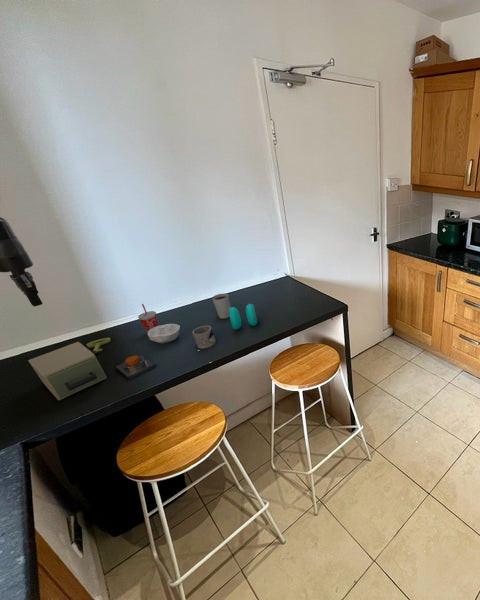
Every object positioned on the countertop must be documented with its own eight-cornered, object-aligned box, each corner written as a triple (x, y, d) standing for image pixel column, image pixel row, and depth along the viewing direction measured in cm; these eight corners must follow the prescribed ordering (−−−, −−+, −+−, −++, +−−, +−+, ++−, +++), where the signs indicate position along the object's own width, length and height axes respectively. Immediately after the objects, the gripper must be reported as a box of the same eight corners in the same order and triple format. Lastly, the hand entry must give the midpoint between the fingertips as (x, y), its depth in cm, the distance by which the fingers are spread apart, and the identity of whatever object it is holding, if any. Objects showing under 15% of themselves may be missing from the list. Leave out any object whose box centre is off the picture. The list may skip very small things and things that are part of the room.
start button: (141, 361, 113) (139, 357, 112) (129, 366, 110) (128, 362, 109) (137, 358, 115) (135, 354, 114) (125, 363, 112) (123, 359, 111)
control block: (155, 366, 114) (152, 360, 113) (129, 379, 108) (126, 372, 107) (142, 358, 119) (139, 351, 118) (117, 369, 113) (113, 363, 112)
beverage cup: (144, 338, 131) (131, 308, 125) (146, 331, 136) (134, 302, 130) (162, 334, 134) (150, 305, 127) (163, 327, 139) (152, 299, 132)
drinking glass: (236, 312, 150) (231, 294, 146) (226, 319, 145) (221, 300, 140) (224, 311, 152) (219, 292, 147) (214, 318, 146) (208, 298, 142)
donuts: (233, 323, 142) (227, 304, 137) (257, 318, 146) (252, 299, 141) (234, 334, 134) (228, 314, 129) (259, 328, 138) (254, 308, 133)
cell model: (165, 332, 135) (159, 318, 132) (189, 335, 133) (184, 321, 130) (144, 345, 126) (137, 331, 123) (169, 348, 124) (163, 334, 121)
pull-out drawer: (110, 382, 106) (100, 363, 102) (65, 404, 97) (52, 383, 93) (90, 365, 114) (79, 346, 110) (47, 383, 105) (34, 363, 102)
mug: (215, 345, 126) (210, 332, 123) (196, 350, 124) (191, 336, 120) (216, 333, 134) (212, 320, 131) (198, 337, 132) (193, 324, 129)
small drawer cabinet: (107, 377, 109) (94, 354, 105) (58, 400, 100) (42, 375, 95) (91, 364, 116) (78, 341, 111) (43, 384, 106) (27, 360, 102)
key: (95, 356, 120) (92, 352, 119) (86, 345, 126) (84, 341, 125) (118, 347, 125) (116, 343, 124) (108, 337, 132) (106, 333, 131)
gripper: (-17, 253, 93) (15, 304, 101) (-7, 261, 87) (26, 315, 95) (19, 246, 99) (47, 295, 107) (31, 254, 93) (60, 305, 101)
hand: (37, 304), depth 101 cm, fingers closed
